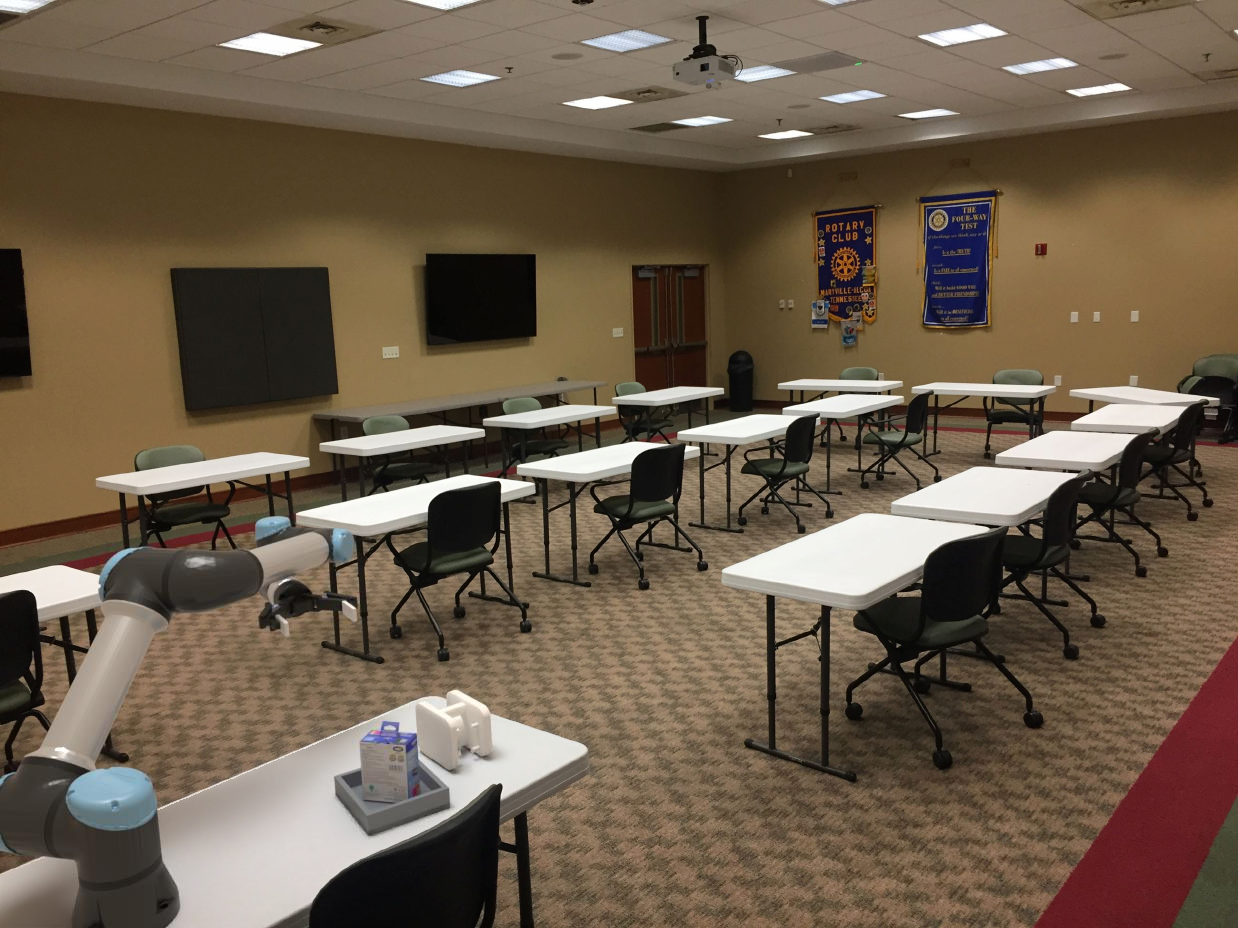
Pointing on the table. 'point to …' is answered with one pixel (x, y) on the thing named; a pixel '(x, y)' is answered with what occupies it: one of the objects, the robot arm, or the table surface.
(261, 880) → the table surface
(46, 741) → the robot arm
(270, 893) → the table surface
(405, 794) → the ink cartridge box
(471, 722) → the cable organizer
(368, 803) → the tray
